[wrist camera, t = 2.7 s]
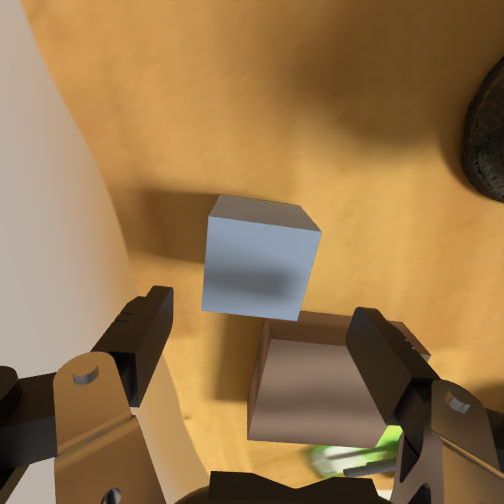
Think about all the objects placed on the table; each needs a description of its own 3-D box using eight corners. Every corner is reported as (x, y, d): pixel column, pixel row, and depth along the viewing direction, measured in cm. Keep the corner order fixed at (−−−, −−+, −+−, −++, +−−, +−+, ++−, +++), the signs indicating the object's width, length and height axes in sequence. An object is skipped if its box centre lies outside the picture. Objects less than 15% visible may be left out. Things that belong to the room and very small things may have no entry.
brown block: (267, 304, 20) (271, 339, 17) (399, 319, 21) (431, 355, 18) (247, 397, 25) (247, 439, 22) (356, 406, 26) (374, 448, 23)
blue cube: (220, 193, 16) (208, 216, 11) (299, 205, 17) (322, 232, 12) (213, 265, 19) (201, 310, 14) (283, 274, 19) (296, 321, 14)
